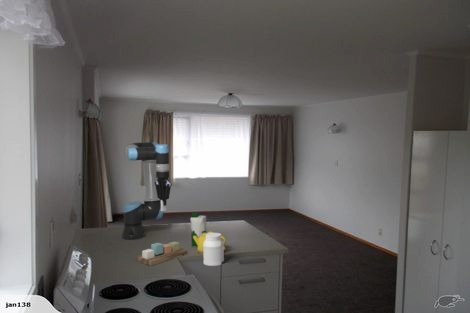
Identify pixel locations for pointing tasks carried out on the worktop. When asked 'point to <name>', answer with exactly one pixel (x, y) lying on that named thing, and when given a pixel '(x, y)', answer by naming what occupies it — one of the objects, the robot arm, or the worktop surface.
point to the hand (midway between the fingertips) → (163, 210)
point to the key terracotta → (167, 248)
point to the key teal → (157, 248)
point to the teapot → (201, 240)
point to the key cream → (148, 254)
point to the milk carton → (197, 226)
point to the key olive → (175, 245)
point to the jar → (213, 249)
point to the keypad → (160, 257)
